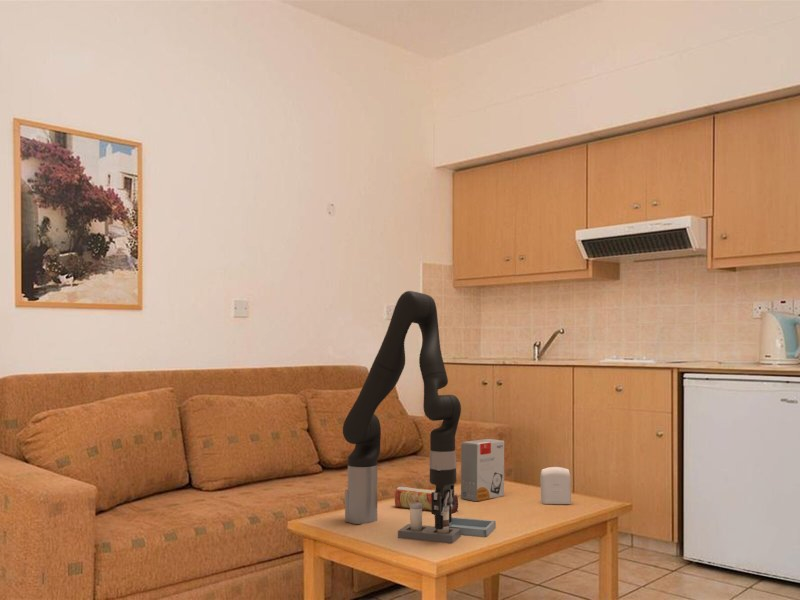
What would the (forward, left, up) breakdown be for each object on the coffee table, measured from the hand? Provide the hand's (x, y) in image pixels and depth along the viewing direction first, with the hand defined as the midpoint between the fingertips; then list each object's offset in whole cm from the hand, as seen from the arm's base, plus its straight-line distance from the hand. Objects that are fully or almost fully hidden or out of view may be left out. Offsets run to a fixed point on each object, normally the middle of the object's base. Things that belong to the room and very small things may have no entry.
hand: (443, 525), depth 208 cm
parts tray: (+4, +11, -4) cm, 12 cm away
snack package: (-17, +35, -4) cm, 39 cm away
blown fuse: (0, 0, -3) cm, 3 cm away
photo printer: (+22, +58, -4) cm, 62 cm away
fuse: (-8, 0, -3) cm, 9 cm away
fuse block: (-4, 0, -4) cm, 6 cm away
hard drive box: (-4, +59, -4) cm, 59 cm away
